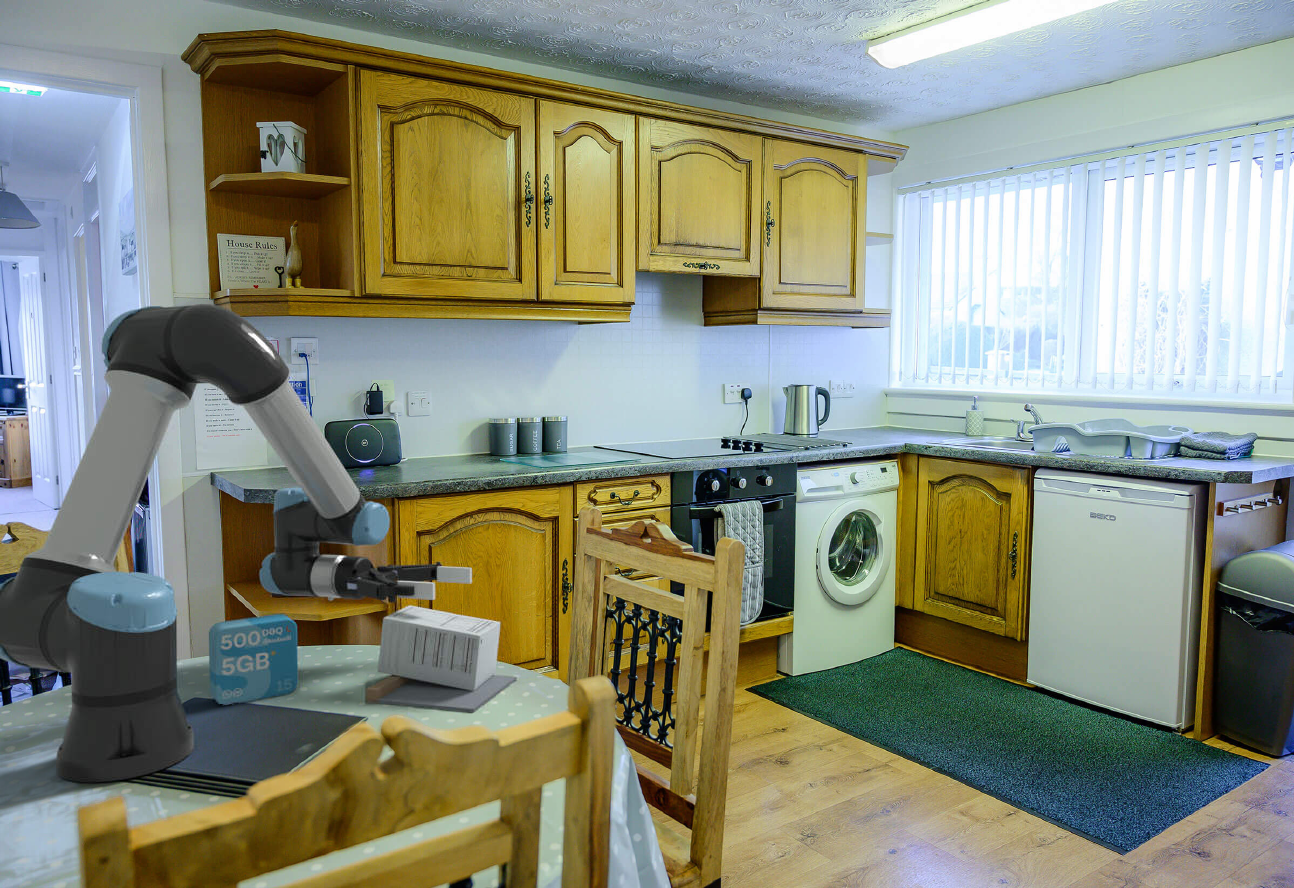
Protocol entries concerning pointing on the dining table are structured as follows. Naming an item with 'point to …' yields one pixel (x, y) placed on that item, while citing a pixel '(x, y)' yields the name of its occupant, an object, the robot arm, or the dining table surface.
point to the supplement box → (439, 647)
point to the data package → (253, 658)
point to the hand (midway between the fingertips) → (453, 583)
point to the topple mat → (435, 693)
